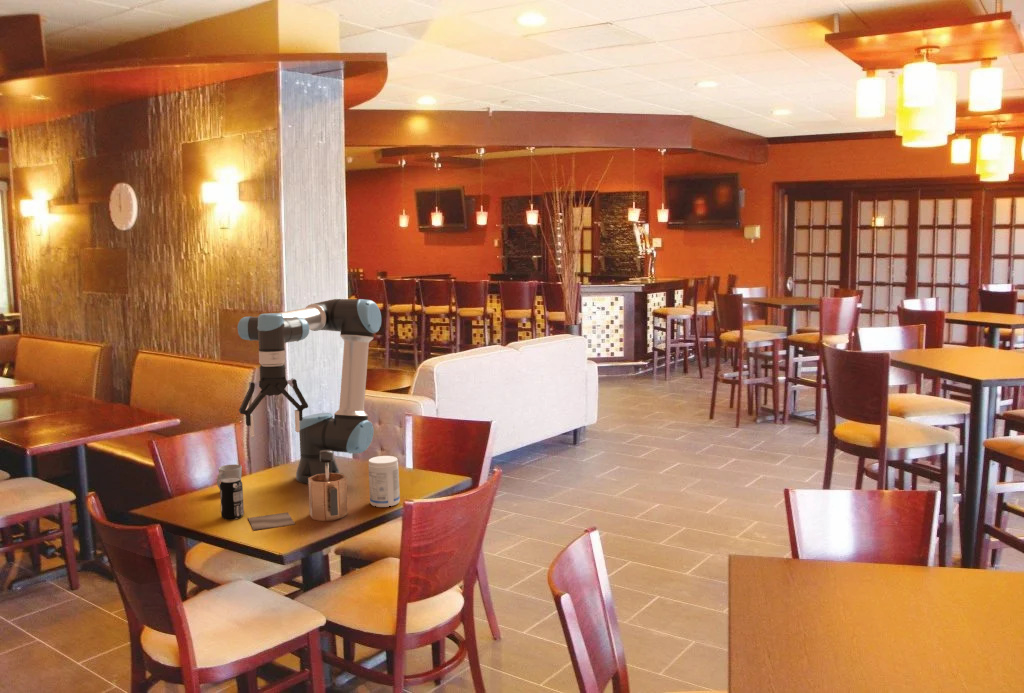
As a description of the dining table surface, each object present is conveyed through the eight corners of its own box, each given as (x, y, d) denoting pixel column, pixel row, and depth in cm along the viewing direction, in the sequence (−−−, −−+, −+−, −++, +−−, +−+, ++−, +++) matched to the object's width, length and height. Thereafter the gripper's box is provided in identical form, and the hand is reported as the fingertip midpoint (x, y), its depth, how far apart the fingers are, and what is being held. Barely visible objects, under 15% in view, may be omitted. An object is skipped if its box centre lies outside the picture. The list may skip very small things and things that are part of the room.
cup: (247, 489, 289) (246, 465, 288) (227, 497, 280) (226, 472, 279) (230, 487, 292) (229, 463, 291) (209, 495, 283) (208, 470, 282)
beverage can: (221, 515, 262) (219, 477, 260) (243, 512, 264) (241, 475, 263) (221, 521, 256) (219, 483, 254) (244, 518, 258) (242, 480, 257)
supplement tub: (390, 497, 279) (388, 453, 277) (405, 503, 271) (404, 459, 269) (364, 503, 272) (362, 458, 271) (379, 510, 265) (377, 464, 263)
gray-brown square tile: (248, 518, 258) (248, 517, 258) (287, 513, 263) (287, 512, 263) (253, 530, 247) (253, 529, 247) (295, 524, 252) (295, 523, 252)
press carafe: (307, 513, 263) (306, 475, 262) (341, 508, 267) (340, 471, 266) (316, 526, 251) (315, 486, 249) (352, 520, 255) (351, 482, 254)
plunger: (313, 504, 262) (311, 450, 260) (337, 500, 265) (335, 447, 263) (318, 510, 255) (316, 455, 253) (343, 507, 258) (341, 452, 256)
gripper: (231, 369, 245) (234, 440, 248) (316, 363, 257) (318, 431, 259) (227, 366, 252) (230, 435, 254) (310, 360, 263) (312, 427, 266)
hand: (275, 433), depth 257 cm, fingers open, 13 cm apart
